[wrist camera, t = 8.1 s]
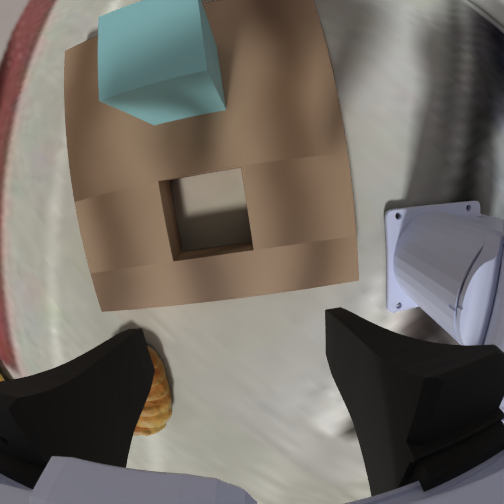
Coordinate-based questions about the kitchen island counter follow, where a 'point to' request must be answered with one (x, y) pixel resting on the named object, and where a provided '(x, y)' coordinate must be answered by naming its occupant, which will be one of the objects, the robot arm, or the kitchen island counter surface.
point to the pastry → (155, 401)
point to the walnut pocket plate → (219, 168)
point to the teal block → (159, 61)
